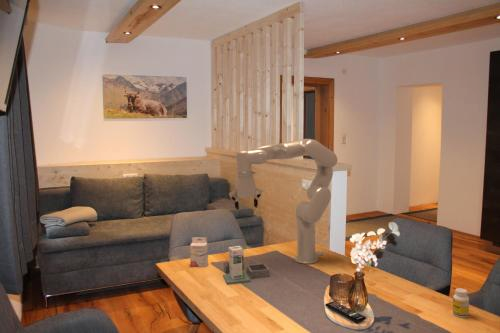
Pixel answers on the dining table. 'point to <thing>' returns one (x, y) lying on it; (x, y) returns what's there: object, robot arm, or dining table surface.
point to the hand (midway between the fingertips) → (246, 208)
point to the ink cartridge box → (199, 252)
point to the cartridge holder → (258, 271)
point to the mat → (236, 281)
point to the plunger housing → (226, 268)
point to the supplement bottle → (461, 303)
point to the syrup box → (236, 262)
